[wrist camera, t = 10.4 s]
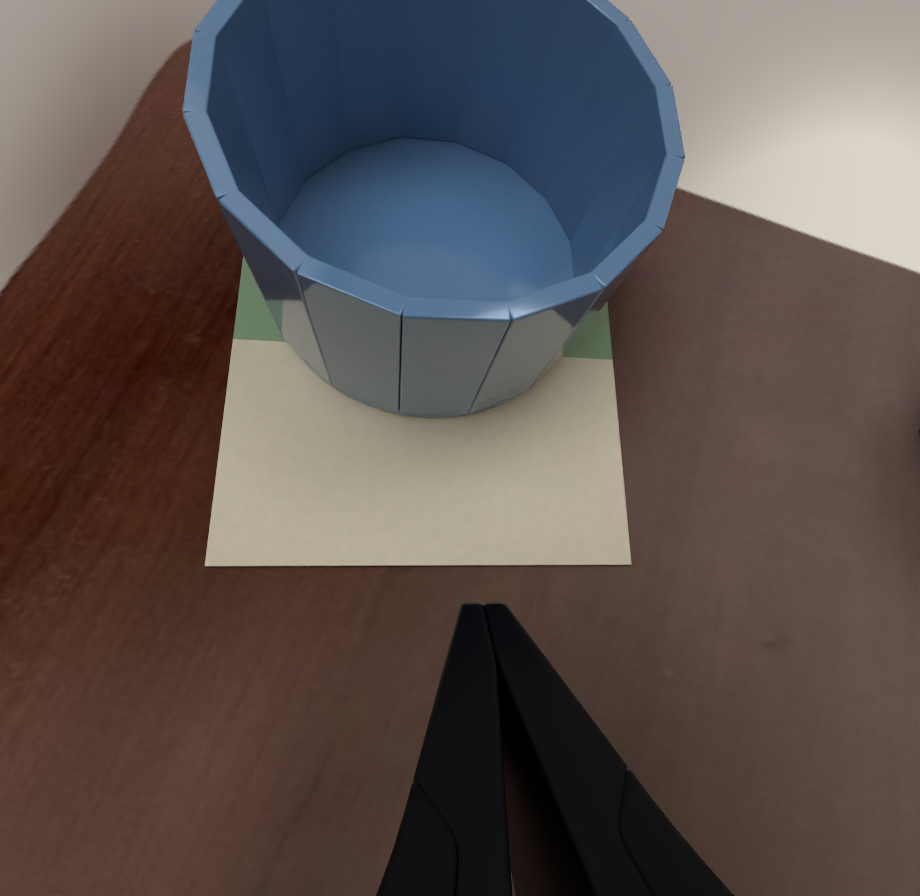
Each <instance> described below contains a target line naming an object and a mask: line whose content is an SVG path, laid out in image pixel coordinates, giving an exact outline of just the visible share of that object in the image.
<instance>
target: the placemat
mask: <svg viewBox="0 0 920 896" xmlns="http://www.w3.org/2000/svg"><path fill="white" fill-rule="evenodd" d="M612 359H613V358H612V347H611V336H610V326H609V315H608V304H607V302H606V303H605V305H604V306H603V307H602V309H601V310H600V311H599V312H598V314H597V315H596V316H595V317H594V319H593V320H592V321H591V322H590V324H589V325H588V326H587V328H586V329H585V330H584V331H583V333H582V334H581V335H580V336H579V338H578V339H577V340H576V341H575V343H574V344H573V345H572V347H571V348H570V349H569V350H568V351H567V352H566V353H565V354H564V355H563V356H562V357H561V358H560V359H559V360H558V361H557V362H556V363H555V364H554V365H553V367H552V368H551V369H550V370H549V371H548V372H547V374H546V375H545V376H544V377H542V378H541V379H540V380H539V381H538V382H537V383H536V384H535V385H534V386H533V387H532V388H530V389H528V390H527V391H525V392H523V393H522V394H520V395H519V396H517V397H516V398H514V399H512V400H510V401H508V402H506V403H504V404H501V405H499V406H497V407H495V408H491V409H488V410H485V411H482V412H479V413H475V414H470V415H464V416H459V417H450V418H421V417H409V416H404V415H399V414H394V413H389V412H386V411H383V410H380V409H377V408H374V407H371V406H368V405H365V404H363V403H361V402H359V401H357V400H355V399H353V398H351V397H349V396H347V395H345V394H343V393H342V392H340V391H339V390H337V389H336V388H334V387H332V386H331V385H329V384H328V383H326V382H325V381H324V380H323V379H322V378H321V377H319V376H318V375H317V374H316V373H315V372H313V371H312V370H311V369H310V368H309V367H308V366H307V365H306V364H305V362H304V361H303V360H302V359H301V358H300V357H299V356H298V355H297V354H296V352H295V351H294V349H293V348H292V346H291V345H290V344H289V343H287V342H286V341H285V340H284V337H282V335H281V333H280V331H279V329H278V327H277V325H276V322H275V320H274V318H273V316H272V314H271V312H270V310H269V308H268V306H267V304H266V302H265V300H264V297H263V295H262V293H261V291H260V289H259V287H258V285H257V283H256V281H255V279H254V277H253V274H252V272H251V270H250V268H249V266H248V264H247V262H246V260H245V258H244V256H243V263H242V271H241V280H240V288H239V296H238V304H237V312H236V320H235V328H234V336H233V344H232V352H231V360H230V368H229V376H228V384H227V392H226V400H225V408H224V416H223V424H222V432H221V440H220V448H219V456H218V464H217V472H216V480H215V488H214V496H213V504H212V512H211V520H210V528H209V536H208V544H207V552H206V560H205V566H426V565H631V555H630V544H629V533H628V523H627V512H626V501H625V490H624V479H623V468H622V457H621V446H620V435H619V424H618V413H617V402H616V391H615V380H614V369H613V360H612Z"/></svg>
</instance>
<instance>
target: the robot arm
mask: <svg viewBox="0 0 920 896" xmlns="http://www.w3.org/2000/svg"><path fill="white" fill-rule="evenodd" d="M510 866H511V869H510ZM511 872H512V877H513V882H514V887H515V893H516V896H734V895H733V894H732V893H731V892H730V891H729V889H728V888H727V887H726V886H725V885H724V884H723V883H722V882H721V880H720V879H719V878H718V877H717V876H716V875H715V874H714V873H713V871H712V870H711V869H710V868H709V867H708V866H707V865H706V863H705V862H704V861H703V860H702V859H701V858H700V856H699V855H698V854H697V853H696V852H695V851H694V849H693V848H692V847H691V846H690V845H689V844H688V842H687V841H686V840H685V839H684V838H683V837H682V835H681V834H680V833H679V832H678V831H677V830H676V828H675V827H674V826H673V825H672V823H671V822H670V821H669V820H668V818H667V817H666V816H665V815H664V813H663V812H662V811H661V809H660V808H659V807H658V806H657V804H656V803H655V802H654V801H653V799H652V798H651V797H650V795H649V794H648V793H647V792H646V790H645V789H644V788H643V786H642V785H641V784H640V782H639V781H638V779H637V778H636V777H635V775H634V774H633V773H632V771H630V770H628V771H627V765H626V764H625V762H624V761H623V760H622V758H621V757H620V756H619V754H618V753H617V752H616V750H615V749H614V748H613V746H612V745H611V744H610V742H609V741H608V740H607V738H606V737H605V736H604V734H603V733H602V732H601V730H600V729H599V728H598V726H597V725H596V724H595V722H594V721H593V720H592V718H591V717H590V716H589V714H588V713H587V712H586V710H585V709H584V708H583V706H582V705H581V704H580V702H579V701H578V700H577V698H576V697H575V696H574V694H573V693H572V692H571V690H570V689H569V688H568V686H567V685H566V684H565V682H564V681H563V680H562V678H561V677H560V676H559V674H558V673H557V672H556V670H555V669H554V668H553V666H552V665H551V664H550V662H549V661H548V660H547V658H546V657H545V656H544V654H543V653H542V652H541V650H540V649H539V648H538V646H537V645H536V644H535V642H534V641H533V640H532V638H531V637H530V636H529V634H528V633H527V632H526V630H525V629H524V628H523V626H522V625H521V624H520V622H519V621H518V620H517V618H516V617H515V616H514V614H513V613H512V612H511V610H510V609H509V608H508V606H507V605H506V604H505V603H503V602H486V603H484V604H483V605H482V604H481V603H479V602H464V603H462V604H461V606H460V609H459V612H458V616H457V620H456V623H455V627H454V631H453V635H452V638H451V642H450V646H449V649H448V653H447V657H446V661H445V664H444V668H443V672H442V675H441V679H440V683H439V687H438V690H437V694H436V698H435V701H434V705H433V709H432V713H431V716H430V720H429V724H428V727H427V731H426V735H425V738H424V742H423V746H422V750H421V753H420V757H419V761H418V764H417V768H416V772H415V776H414V782H413V784H412V786H411V789H410V793H409V797H408V801H407V804H406V808H405V812H404V815H403V818H402V821H401V825H400V828H399V831H398V835H397V838H396V841H395V845H394V848H393V851H392V854H391V856H390V859H389V862H388V865H387V867H386V870H385V873H384V876H383V878H382V881H381V884H380V887H379V889H378V892H377V895H376V896H512V884H511Z"/></svg>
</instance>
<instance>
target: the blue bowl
mask: <svg viewBox="0 0 920 896" xmlns="http://www.w3.org/2000/svg"><path fill="white" fill-rule="evenodd" d="M183 116H184V119H185V121H186V124H187V126H188V129H189V131H190V134H191V136H192V139H193V141H194V144H195V146H196V149H197V152H198V154H199V157H200V159H201V162H202V164H203V167H204V169H205V172H206V174H207V177H208V179H209V182H210V184H211V187H212V189H213V192H214V195H215V197H216V199H217V201H218V203H219V205H220V208H221V210H222V212H223V214H224V216H225V218H226V220H227V222H228V224H229V226H230V228H231V231H232V233H233V235H234V237H235V239H236V241H237V243H238V245H239V247H240V249H241V251H242V254H243V256H244V258H245V260H246V262H247V264H248V266H249V268H250V270H251V272H252V274H253V277H254V279H255V281H256V283H257V285H258V287H259V289H260V291H261V293H262V295H263V297H264V300H265V302H266V304H267V306H268V308H269V310H270V312H271V314H272V316H273V318H274V320H275V322H276V325H277V327H278V329H279V331H280V333H281V335H282V337H284V340H285V341H286V342H287V343H289V344H290V345H291V346H292V348H293V349H294V351H295V352H296V354H297V355H298V356H299V357H300V358H301V359H302V360H303V361H304V362H305V364H306V365H307V366H308V367H309V368H310V369H311V370H312V371H313V372H315V373H316V374H317V375H318V376H319V377H321V378H322V379H323V380H324V381H325V382H326V383H328V384H329V385H331V386H332V387H334V388H336V389H337V390H339V391H340V392H342V393H343V394H345V395H347V396H349V397H351V398H353V399H355V400H357V401H359V402H361V403H363V404H365V405H368V406H371V407H374V408H377V409H380V410H383V411H386V412H389V413H394V414H399V415H404V416H409V417H421V418H450V417H459V416H464V415H470V414H475V413H479V412H482V411H485V410H488V409H491V408H495V407H497V406H499V405H501V404H504V403H506V402H508V401H510V400H512V399H514V398H516V397H517V396H519V395H520V394H522V393H523V392H525V391H527V390H528V389H530V388H532V387H533V386H534V385H535V384H536V383H537V382H538V381H539V380H540V379H541V378H542V377H544V376H545V375H546V374H547V372H548V371H549V370H550V369H551V368H552V367H553V365H554V364H555V363H556V362H557V361H558V360H559V359H560V358H561V357H562V356H563V355H564V354H565V353H566V352H567V351H568V350H569V349H570V348H571V347H572V345H573V344H574V343H575V341H576V340H577V339H578V338H579V336H580V335H581V334H582V333H583V331H584V330H585V329H586V328H587V326H588V325H589V324H590V322H591V321H592V320H593V319H594V317H595V316H596V315H597V314H598V312H599V311H600V310H601V309H602V307H603V306H604V305H605V303H606V302H607V301H608V300H609V298H610V297H611V296H612V295H613V293H614V292H615V291H616V290H617V288H618V287H619V286H620V285H621V283H622V282H623V281H624V279H625V278H626V277H627V276H628V274H629V273H630V272H631V271H632V269H633V268H634V267H635V266H636V264H637V263H638V262H639V260H640V259H641V258H642V257H643V255H644V254H645V253H646V252H647V250H648V249H649V248H650V247H651V245H652V244H653V243H654V241H655V240H656V239H657V238H658V236H659V235H660V234H661V231H662V230H663V229H664V226H665V223H666V219H667V216H668V213H669V209H670V206H671V203H672V199H673V196H674V193H675V190H676V186H677V183H678V180H679V176H680V173H681V170H682V166H683V163H684V158H685V154H684V149H683V143H682V137H681V132H680V126H679V120H678V115H677V109H676V103H675V98H674V92H673V87H672V86H671V83H670V81H669V79H668V78H667V76H666V75H665V73H664V72H663V70H662V68H661V67H660V65H659V64H658V62H657V61H656V59H655V57H654V56H653V54H652V53H651V51H650V50H649V48H648V47H647V45H646V43H645V42H644V40H643V39H642V37H641V35H640V34H639V32H638V31H637V29H636V28H635V26H634V24H633V23H632V21H631V20H629V18H628V17H627V16H626V15H625V14H624V13H622V12H621V11H620V10H619V9H617V8H616V7H615V6H614V5H613V4H611V3H610V2H609V1H608V0H217V1H216V2H215V4H214V5H213V6H212V7H211V9H210V10H209V11H208V12H207V14H206V15H205V16H204V18H203V19H202V21H201V22H200V23H199V24H198V25H197V27H196V28H195V32H194V34H193V40H192V47H191V54H190V61H189V69H188V76H187V83H186V90H185V97H184V104H183Z"/></svg>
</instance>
